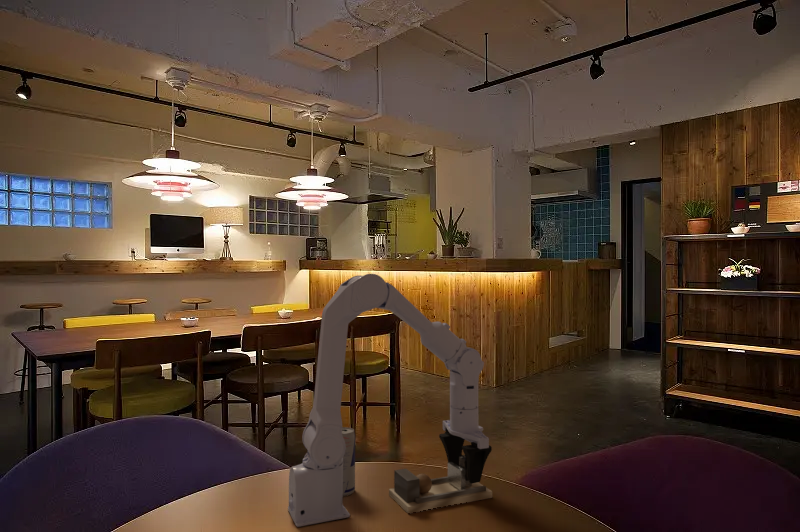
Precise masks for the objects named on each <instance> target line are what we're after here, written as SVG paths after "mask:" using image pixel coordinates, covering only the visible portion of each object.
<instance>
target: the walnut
mask: <svg viewBox="0 0 800 532" xmlns="http://www.w3.org/2000/svg"><path fill="white" fill-rule="evenodd" d="M415 476H416V477H418V478H419V493H420V494H426V493H428V492H429V491H430V489H431V487H432V481H431V479H432V478H431V477H430V476H429V475H428V474H426V473H418V474H416V475H415Z"/></svg>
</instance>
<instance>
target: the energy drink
mask: <svg viewBox="0 0 800 532" xmlns="http://www.w3.org/2000/svg"><path fill="white" fill-rule="evenodd" d="M342 436H343V438H344V441H345V444H346V450H345V454H344V456H343V497H348V496H350V495H352V494H353V493H354V492H355V489H356V433H355V429H354V428H352V427H346V426H344V427H343V426H342ZM347 495H348V496H347Z"/></svg>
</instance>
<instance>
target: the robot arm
mask: <svg viewBox="0 0 800 532" xmlns="http://www.w3.org/2000/svg"><path fill="white" fill-rule="evenodd" d="M374 309H379V310H380V309H381V310H386V311H390V312H391V313H392V314H393V315H394V316H396V317H398V318H399V319H400V320H402V321H403V322H404V323H406V325H408V326H409V327H410V328H412V329H413V330H414V331H415V332H416V333H418V334H419V336H420V343H421V345H422V346H424V347H425V348H426V349H427V350H428V351H430V353H432V354H433V355H434V356H435V357H436V358H438V359H439V360H440V361H441V362H443V363H444V367H445V368H446V370H448V371H449V419H447V420H442V430H443V431H444V433H439V435H438V437H439V440H440V441H441V443H442V445H443V448H444V450H445V455H446V459H447V463H448V462H453V463H455V464H456V465H458V466H459V456H460V455H465V457H466V461H467V468H468V478H469V482H470V483H477V482H479V483H480V482H481V480H482V475H483V472H484V468H485V465H486V461H487V459H488V457H489V455H490V453H491V452H492V450H493V447H492V446H491V445H490V444H489V443H490V439H489V437H488V436H486V435H485V433H483V431H484V427H483V426H481V425H479V423H480V422H479V420H480V419H479V382H480V381H479V378H480V375H481V373H482V371H483V369H484V367H485V362H484V361H483V359H482V357H481V354H480V352H479V351H478V350H477V349H475V348H473V347H468V346H467V341H466V340H465V339H464V338H459V337H458V336H457V335H456V334H455V333H454V332H452V330H450V329H451V326H450V325H449V324H448V323H447V322H441V321H430V320H429V319H428V318H427V317H426V316H425V315H424V313H422V312H421V311H420V310H419V309H418V308H417V307H416V305H414V304H413V303H412V302H410V301H409V299H407V298H406V296H404V295H403V294H402V293H401V292H400V291H399V290H398V289H397V288H396V287H395V286H394V285H393V284H391V283H390V282H388V281H387V282H386V280H385V279H384V278H383V277H381V276H380V275H378V274H375V273H367V274H363V275H354V276H352V277H350V278H348V279H346V280H345V281H343V282H342V283H341V284H340V285H339V287H338V289H337V291H336V292H335V293H334V295H332V297H331V298H330V299H329V300H328V302H327V303H326V305H325V306H324V307H323V309H322V313H321V321H320V331H319V340H318V342H319V343H318V352H317V353H318V354H317V362H316V363H317V365H316V372H315V373H316V374H315V385H314V395H313V403H312V405H313V406H312V408H311V410H310V412H309V414H308V415H309V416H308V422H307V424H306V425H305V428H304V429H303V432H302V438H301V439H302V443H303V446H304V448H305V449H307V452H306V453H305V454H304V457H303V458H302V463H299V464H297V465H293V466H291V467H290V468H289V474H288V506H287V511H288V512H289V515H290V517H291V519H292V521H293V522H294V525H295V526H296V527H297V528H300V527H304V526H309V525H315V524H320V523H325V522H331V521H335V520H336V521H337V520H342V519H347V518H350V517H351V513H350V512H349V511H348V510H347V509H346V507H345V506H344V503H343V501H344V500H343V499H344V496H343V456H344V454H345V450H346V444H345V441H344V438H343V436H342V427H343V420H342V412H341V407H342V396H343V383H344V376H345V363H346V352H347V351H346V350H347V342H348V339H347V338H348V331H349V324H350V323H351V322H352V321H353V320H355V319H356V318H357V317H358V316H360V315H362V313H365V312H368V311H370V310H374ZM465 441H467V442H469V443H470V444H468V445H464V443H465ZM462 453H463V454H462Z"/></svg>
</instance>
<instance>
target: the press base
mask: <svg viewBox="0 0 800 532" xmlns="http://www.w3.org/2000/svg"><path fill="white" fill-rule="evenodd" d="M393 473H394V478H393V480H394V482H393V484H394V485H393V486H394V487H393V488H389V489H388V496H389V497H390V498H391V499H392V500H393V499H394V500H395V501H396V502H397V503H396V502H395V501H394V500H393V501H394V502H395V503H396V504H397V505H398V506H399V505H400V506H401V507H400V508H401V509H402V510H403V511H405V513H406V514H408V513H410V514H414V513H413V512H416V513H420V511H421V512H424V511H423V510H426V511H429V510H428V509H431V510H434V509H433V508H436V509H438V508H437V507H441V508H444V507H443V506H446V507H449V506H448V505H451V506H455V505H454V504H457V505H460V503H462V504H466V502H467V503H472V502H476V501H480V500H487V499H491V498H493V490H491V489H490V488H488V487H487V486H486V485H483V484H481V483H480V482H477V483H472V486H471V487H465V489H463V490H459V489H458V488H456V487H455V486H453V485H452V484H451V483H449V482H448V475H447V476H442V477H436V478H430V479H431V481H432V487H431V489H430V491H429V492H428V493H426V494H420V493H419V478H418V477H416V476H417V475H415V474H414V473H413V472H412V471H410V470H409V469H408V468H401V469H395V470H394V472H393Z"/></svg>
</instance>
